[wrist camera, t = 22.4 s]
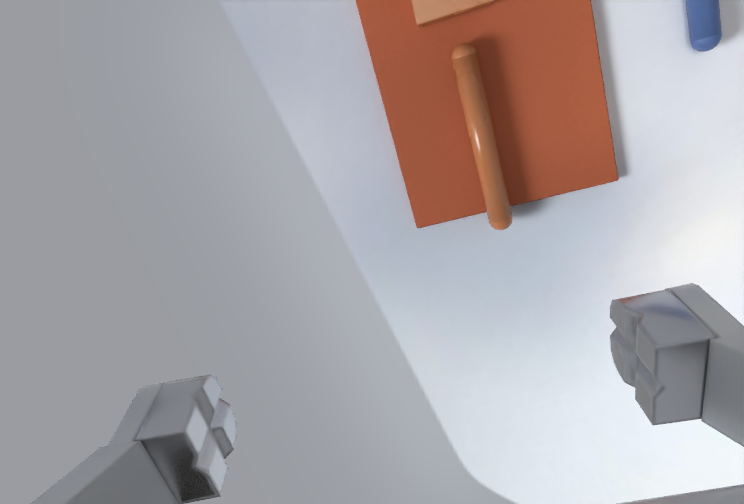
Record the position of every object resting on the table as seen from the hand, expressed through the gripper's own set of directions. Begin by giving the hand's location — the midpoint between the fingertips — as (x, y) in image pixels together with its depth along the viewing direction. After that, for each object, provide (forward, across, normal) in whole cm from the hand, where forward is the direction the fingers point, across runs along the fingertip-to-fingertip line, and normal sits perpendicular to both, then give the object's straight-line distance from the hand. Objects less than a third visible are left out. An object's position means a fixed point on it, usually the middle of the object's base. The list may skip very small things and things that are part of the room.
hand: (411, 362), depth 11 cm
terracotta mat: (+28, -7, -1) cm, 29 cm away
